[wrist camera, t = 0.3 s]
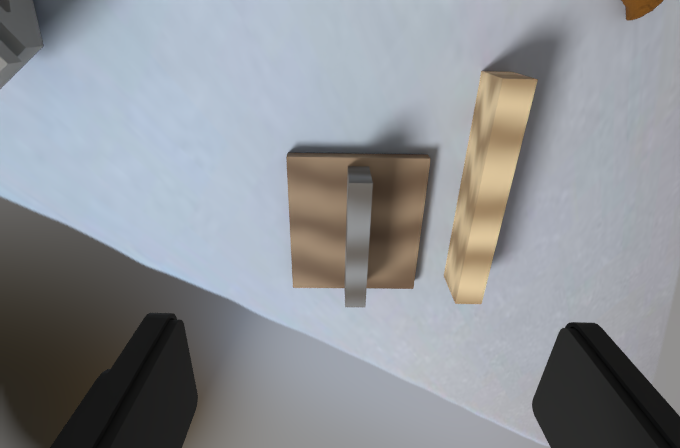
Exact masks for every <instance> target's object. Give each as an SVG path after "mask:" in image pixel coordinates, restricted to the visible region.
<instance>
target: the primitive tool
mask: <svg viewBox="0 0 680 448" xmlns="http://www.w3.org/2000/svg"><path fill="white" fill-rule="evenodd" d="M621 1H622V2H623V4H624V5H625V6H626V20H634V19H637V18H640V17H642V16H644V15H645V14H647V13H649V12H651V11H653V10H654V9H655V8H656V7H657V6H658V5H659V4H661V3H662V2H663V0H621Z"/></svg>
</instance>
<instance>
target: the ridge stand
mask: <svg viewBox="0 0 680 448" xmlns="http://www.w3.org/2000/svg"><path fill="white" fill-rule="evenodd" d="M430 160H431V159H430V157H429V156H428V155H424V154H351V153H288V154H287V177H288V197H289V217H290V237H291V256H292V276H293V288H345V307H365V303H366V288H392V289H413V287H414V280H415V272H416V265H417V257H418V250H419V242H420V235H421V227H422V220H423V212H424V205H425V197H426V190H427V182H428V175H429V167H430Z"/></svg>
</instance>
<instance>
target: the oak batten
mask: <svg viewBox="0 0 680 448" xmlns="http://www.w3.org/2000/svg"><path fill="white" fill-rule="evenodd" d="M537 80H538V79H534V78H531V77H528V76H524V75H521V74H518V73H514V72H498V71H481V77H480V82H479V88H478V93H477V98H476V104H475V109H474V115H473V120H472V126H471V131H470V136H469V142H468V147H467V153H466V158H465V164H464V169H463V174H462V180H461V185H460V191H459V196H458V202H457V207H456V212H455V218H454V223H453V229H452V234H451V240H450V245H449V250H448V256H447V261H446V267H445V272H444V278H445V280H446V282H447V285H448V287H449V289H450V292H451V294H452V297H453V299H454V301H455V304H481V303H482V300H483V296H484V292H485V288H486V284H487V280H488V276H489V272H490V268H491V264H492V260H493V256H494V252H495V248H496V244H497V240H498V236H499V232H500V228H501V224H502V220H503V216H504V212H505V208H506V204H507V200H508V196H509V192H510V188H511V184H512V180H513V176H514V172H515V168H516V164H517V160H518V156H519V152H520V148H521V144H522V140H523V136H524V132H525V128H526V124H527V120H528V116H529V112H530V108H531V104H532V100H533V96H534V92H535V88H536V84H537Z"/></svg>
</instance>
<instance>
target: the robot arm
mask: <svg viewBox="0 0 680 448" xmlns="http://www.w3.org/2000/svg"><path fill="white" fill-rule="evenodd" d="M197 399H198V395H197V389H196V384H195V379H194V374H193V368H192V363H191V358H190V353H189V348H188V343H187V338H186V333H185V327H184V323H183V321H182V320H177V318H176V316H175V314H171V313H149V314H147V315H146V317H145V318H144V319H143V321H142V322H141V324H140V325H139V327H138V328H137V330H136V331H135V333H134V334H133V336H132V338H131V339H130V340H129V342H128V343H127V345H126V347H125V348H124V350H123V351H122V353H121V354H120V356H119V357H118V359H117V360H116V362H115V363H114V365H113V366H112V368H111V369H107V370H106V371H104V372H103V373H101V375H100V376H99V377H98V378H97V379H96V381H95V382H94V384H93V385H92V387H91V388H90V390H89V391H88V393H87V394H86V396H85V397H84V399H83V400H82V401H81V403H80V405H79V406H78V407H77V409H76V410H75V412H74V414H73V415H72V416H71V418H70V419H69V421H68V422H67V424H66V425H65V426H64V428H63V429H62V431H61V432H60V434H59V435H58V437H57V438H56V440H55V441H54V443H53V444H52V446H51V447H50V448H182V445H183V443H184V440H185V438H186V435H187V432H188V429H189V427H190V424H191V421H192V418H193V416H194V413H195V410H196V407H197ZM532 408H533V412H534V415H535V417H536V419H537V421H538V423H539V425H540V427H541V429H542V431H543V433H544V435H545V437H546V439H547V441H548V443H549V445H550V447H551V448H680V416H679V415H678V414H677V413H676V412H675V411H674V409H673V408H672V407H671V406H670V405H669V404H668V403H667V401H666V400H665V399H664V398H663V397H662V396H661V395H660V394H659V392H658V391H657V390H656V389H655V388H654V387H653V386H652V384H651V383H650V382H649V381H648V380H647V379H646V378H645V377H644V375H643V374H642V373H641V372H640V371H639V370H638V369H637V367H636V366H635V365H634V364H633V363H632V362H631V361H630V360H629V358H628V357H627V356H626V355H625V354H624V353H623V352H622V350H621V349H620V348H619V347H618V346H617V345H616V344H615V343H614V341H613V340H612V339H611V338H610V337H609V336H608V335H607V333H606V332H605V331H604V330H603V329H602V328H601V327H600V326H599V325H598V324H595V323H578V322H572V323H568V324H567V325H566V327H565V328H562V329H561V330H560V332H559V334H558V336H557V339H556V342H555V344H554V347H553V349H552V352H551V354H550V357H549V359H548V362H547V365H546V367H545V370H544V372H543V375H542V377H541V380H540V383H539V385H538V388H537V390H536V393H535V395H534V398H533V401H532Z"/></svg>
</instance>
